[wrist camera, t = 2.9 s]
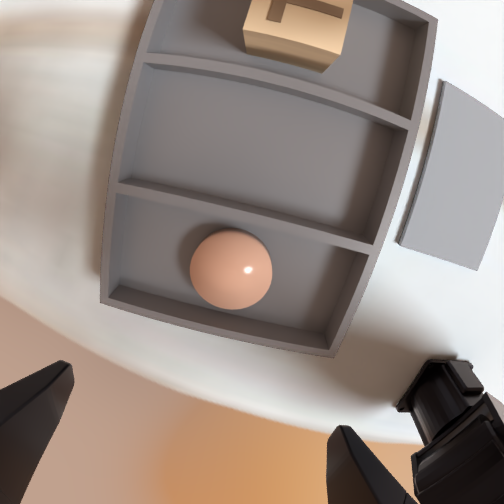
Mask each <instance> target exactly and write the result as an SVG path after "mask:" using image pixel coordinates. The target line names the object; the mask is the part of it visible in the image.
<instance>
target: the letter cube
mask: <svg viewBox="0 0 504 504" xmlns="http://www.w3.org/2000/svg"><path fill="white" fill-rule="evenodd" d="M352 4H353V0H252V2H251V5H250V8H249V11H248V14H247V17H246V20H245V23H244V27H243V34H244V40H245V46H246V52H247V55H252V56H257V57H261V58H266V59H270V60H274V61H278V62H282V63H286V64H290V65H294V66H297V67H301V68H304V69H308V70H311V71H315V72H318V73H321V74H322V73H323V72H324V71H325V70H326V69H327V68H328V67H329V66H330V65H331V64H332V63H333V62H334V61H335V60H336V59H337V58H338V57H339V56H340V55H341V51H342V47H343V43H344V38H345V34H346V30H347V26H348V21H349V17H350V13H351V8H352Z"/></svg>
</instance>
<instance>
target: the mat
mask: <svg viewBox="0 0 504 504" xmlns="http://www.w3.org/2000/svg"><path fill="white" fill-rule="evenodd" d="M503 197H504V119H503V118H502V117H501V116H499V115H498V114H497V113H495V112H494V111H492V110H491V109H490V108H488V107H487V106H485V105H484V104H482V103H481V102H479V101H478V100H476V99H475V98H473V97H472V96H470V95H468V94H467V93H465V92H464V91H462V90H460V89H459V88H457V87H455V86H454V85H452V84H450V83H449V82H447V81H444V82H443V86H442V91H441V96H440V101H439V106H438V111H437V116H436V120H435V125H434V129H433V133H432V137H431V141H430V145H429V149H428V153H427V157H426V160H425V164H424V167H423V171H422V174H421V178H420V181H419V185H418V188H417V191H416V194H415V197H414V201H413V204H412V207H411V210H410V213H409V216H408V219H407V221H406V224H405V227H404V230H403V233H402V236H401V238H400V241H399V245H400V246H402V247H405V248H408V249H412V250H415V251H418V252H421V253H424V254H427V255H431V256H434V257H437V258H440V259H443V260H446V261H449V262H452V263H455V264H458V265H461V266H464V267H467V268H470V269H473V270H476V271H477V270H478V268H479V265H480V263H481V261H482V258H483V256H484V253H485V250H486V248H487V245H488V243H489V240H490V237H491V234H492V231H493V229H494V226H495V223H496V220H497V217H498V214H499V210H500V207H501V204H502V200H503Z"/></svg>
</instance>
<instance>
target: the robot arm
mask: <svg viewBox="0 0 504 504" xmlns="http://www.w3.org/2000/svg"><path fill="white" fill-rule="evenodd" d="M472 369H473V365H472V364H471V363H468V362H463V361H451V360H449V361H444V360H433V359H431V360H428V361H427V362H426V363H425V365H424V366H423V368H422V369H421V371H420V373H419V374H418V376H417V377H416V379H415V380H414V382H413V383H412V385H411V386H410V388H409V389H408V391H407V392H406V394H405V395H404V397H403V398H402V399H401V401H400V402H399V404H398V405H397V406H396V409H397V411H398V412H410V413H411V416H412V418H413V420H414V423H415V425H416V427H417V429H418V432H419V434H420V437H421V439H422V441H423V444H424V446H425V447H424V448H422V449H421V450H420V451H418V452H416V453H414V454H413V455H411V461H412V472H413V483H414V494H415V496H416V497H417V499H418V501H419V502H420V504H504V405H503V404H502V403H501V402H500V401H499V400H497V399H496V398H494V397H493V396H492V395H490V394H489V393H488V392H485V393H484V394H483V393H482V392H483V391H484V387H483V385H482V384H481V382H480V381H479V379H478V378H477V377H476V375H475V374H474V373H473V371H472ZM73 386H74V375H73V369H72V365H71V364H70V363H68V362H65V361H63V360H59V361H57V362H55V363H53V364H51V365H49V366H47V367H45V368H43V369H41V370H39V371H37V372H35V373H33V374H31V375H29V376H27V377H25V378H23V379H21V380H19V381H17V382H15V383H13V384H11V385H9V386H7V387H5V388H3V389H1V390H0V504H20V503H21V500H22V498H23V496H24V493H25V491H26V489H27V487H28V485H29V482H30V480H31V478H32V475H33V474H34V471H35V469H36V467H37V465H38V463H39V461H40V459H41V457H42V455H43V453H44V451H45V449H46V447H47V445H48V443H49V441H50V439H51V437H52V435H53V433H54V431H55V429H56V427H57V425H58V424H59V422H60V419H61V417H62V414H63V412H64V409H65V406H66V404H67V401H68V399H69V396H70V394H71V391H72V389H73ZM326 483H327V495H328V504H418V503H417V502H416V501H415V500H414V499H413V498H411V496H410V495H409V494H408V493H406V490H405V489H404V488H403V487H402V486H401V485H400V484H399V482H398V481H397V480H396V479H395V478H394V477H393V476H392V474H391V473H390V472H389V471H388V470H387V469H386V468H385V466H384V465H383V464H382V463H381V462H380V461H379V460H378V458H377V457H376V456H375V455H374V454H373V452H372V451H371V450H370V449H369V448H368V447H367V446H366V444H365V443H364V442H363V441H362V440H361V438H360V437H359V436H358V435H357V434H356V432H355V431H354V430H353V429H352V428H351V427H350V426H347V425H339V426H337V427H336V429H335V430H334V431H333V433H332V434H331V436H330V437H329V439H328V442H327V469H326Z"/></svg>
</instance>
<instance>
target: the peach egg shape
mask: <svg viewBox="0 0 504 504" xmlns="http://www.w3.org/2000/svg"><path fill="white" fill-rule="evenodd" d="M190 277H191V281H192V284H193V286H194V288H195V289H196V291H197V292H198V294H199V295H200V296H201V297H202V298H203V299H204V300H206V301H207V302H209V303H210V304H212V305H214V306H216V307H220V308H223V309H231V310H232V309H242V308H246V307H249V306H251V305H253V304H255V303H256V302H258V301H259V300H260V299H261V298H262V297H263V296H264V295H265V294H266V292H267V291H268V289H269V287H270V284H271V280H272V262H271V257H270V254H269V251H268V249H267V247H266V246H265V244H264V243H263V242H262V241H261V240H260V239H259V238H258V237H257V236H255V235H254V234H252V233H250V232H248V231H245V230H242V229H238V228H225V229H220V230H217V231H215V232H213V233H211V234H209V235H208V236H207V237H205V238H204V239H203V240H202V242H201V243H200V244H199V246H198V247H197V249H196V251H195V253H194V255H193V257H192V259H191V263H190Z"/></svg>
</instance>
